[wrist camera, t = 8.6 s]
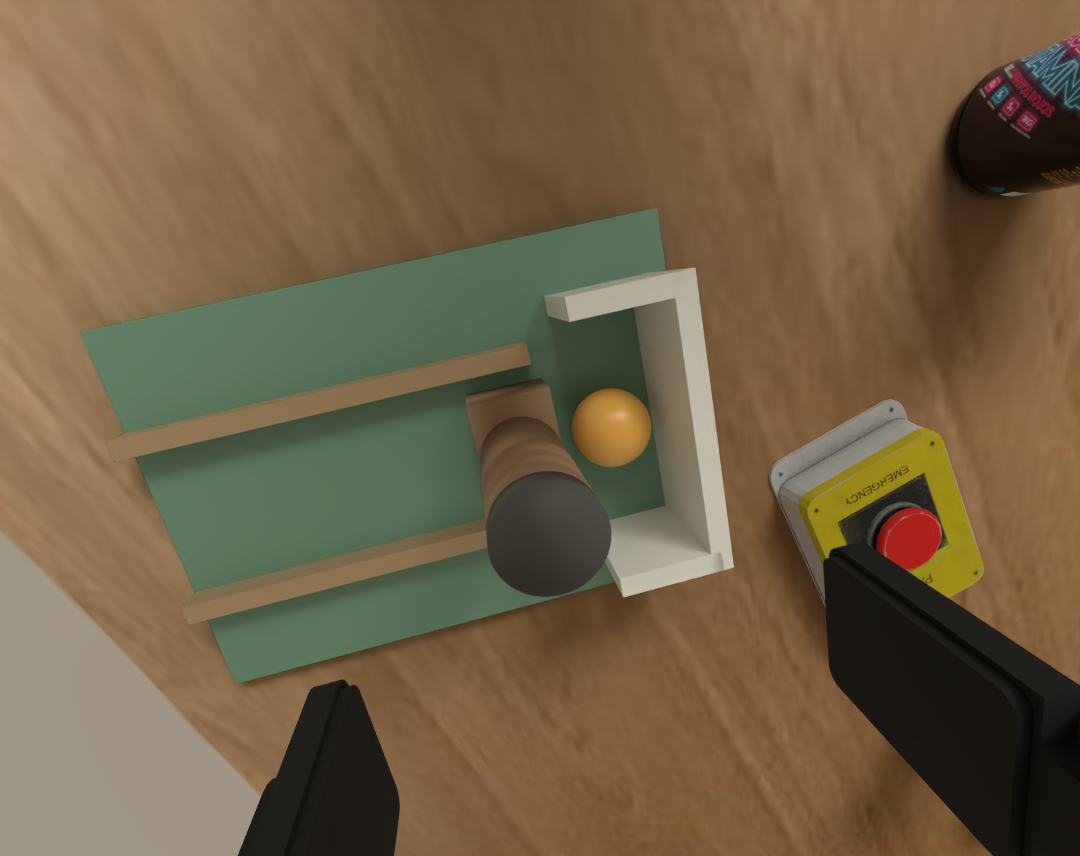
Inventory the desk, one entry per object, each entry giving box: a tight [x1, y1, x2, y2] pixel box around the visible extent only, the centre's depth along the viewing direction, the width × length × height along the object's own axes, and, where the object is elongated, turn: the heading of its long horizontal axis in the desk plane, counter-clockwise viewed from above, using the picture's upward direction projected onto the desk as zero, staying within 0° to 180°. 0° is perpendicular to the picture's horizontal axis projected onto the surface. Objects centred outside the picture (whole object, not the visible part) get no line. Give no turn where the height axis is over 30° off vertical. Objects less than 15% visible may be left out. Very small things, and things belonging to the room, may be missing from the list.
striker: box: [466, 378, 612, 597], centre depth 23 cm, size 4×6×12 cm, turn 12°
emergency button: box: [769, 399, 984, 608], centre depth 33 cm, size 9×4×15 cm
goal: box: [544, 268, 734, 597], centre depth 26 cm, size 6×14×6 cm, turn 12°
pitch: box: [80, 208, 666, 684], centre depth 28 cm, size 28×20×2 cm
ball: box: [572, 388, 651, 467], centre depth 27 cm, size 4×4×4 cm
